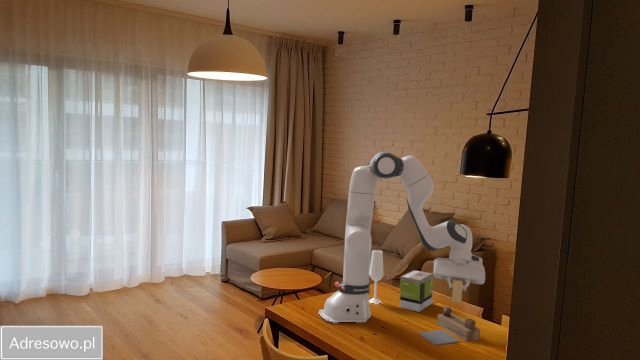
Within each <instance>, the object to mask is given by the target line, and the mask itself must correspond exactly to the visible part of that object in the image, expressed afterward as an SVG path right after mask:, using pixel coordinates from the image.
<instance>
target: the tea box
mask: <svg viewBox="0 0 640 360" xmlns="http://www.w3.org/2000/svg"><path fill="white" fill-rule="evenodd" d="M433 281H434V276H433V272H427V271H426V272H425V271H419V270H415V269H414V270H411V271H410V272H406V274H403V275H400V284H399V285H400V289H399V291H400V292H399V293H400V294H399V307H400V308H402V309H405V310H409V311H413V312H418V313H419V312H421V311H423V310H425V309H426V308H428V307H429V306H431V305H432V304H433V289H434V288H433V287H434V286H433V285H434V282H433Z"/></svg>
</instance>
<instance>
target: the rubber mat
mask: <svg viewBox="0 0 640 360" xmlns="http://www.w3.org/2000/svg"><path fill="white" fill-rule="evenodd" d="M418 335H419V336H421V337H422V338H424V339H425V340H427V341H428V342H430V343H431V344H433V345H434V346H441V345H442V346H443V345H449V344H456V343H460V342H461V340H459V339H457V338H456V337H454V336H453V335H452V334H450V333H448V332H446V331H445V330H443V329H439V330H431V331H423V332H418Z"/></svg>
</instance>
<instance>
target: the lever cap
mask: <svg viewBox="0 0 640 360" xmlns="http://www.w3.org/2000/svg"><path fill="white" fill-rule="evenodd" d="M463 283H464V282H463V280H462V279H454V280H452V284H453V289H452V291H451V293H452V294H451V295H452V296H451V302H453V303H458V304H462V300H463V299H462V296H463V291H462V286H463V285H464V284H463Z"/></svg>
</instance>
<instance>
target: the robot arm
mask: <svg viewBox="0 0 640 360" xmlns="http://www.w3.org/2000/svg"><path fill="white" fill-rule="evenodd" d="M395 177H397V178H399V180H400V181H401V183H402V184H403V185H404V187H405V190H406V192H407V197H408V198H406V199H407V200H406V203H407V206H408V210H409V213H410V215H411V217H412V220H413V223H414V224H415V227H416V230H417V232H418V235H419V239H420V242H421V244H422V247H423V248H424V249H426V250H428V251H430V252H436V251H439V250H440V249H442V248H443V249H444V248H446V247H448V246H449V247H450V250H449V254H448V255H449V257H448V258H447V257H436V258H435V259H434V260H433V271H432V273H433V278H434V279H440V280H445V281H446V282H447V284H448V289H449V290H453V282H451V281H453V280H454V279H462V280H463V283H465V284H463V286H462V292H467V288H468V287H469V285H470V284H477V285H483V284H484V283H485V282H486V271H485V270H486V269H485V266H484V264H483V258H482V257H480V256H478V255H475V254H472V248H473V233H472V230H471V228H470V227H469V226H468V225H465V224H460V223H459V222H457V221H455V220H452V219H450V220H447V221H444V222H442V223H439V224H437V225H434V226H431V225H430V223H429V222H428V220H427V216H426V215H425V212H424V209H423V208H424V204H425V203H426V202H427V201H428V199H429V198H430V197H431V196H432V194H433V192H434V188H435V186H434V181H433V179H432V177H431V175H430V174H429V173H428V171H427V170H426V168H425V167H424V165H423V164H422V163H421V161H420V160H419V159H418V158H417V157H416V156H415V155H413V154H412V155H409V154H408V155H405V156H403V157H401V158H400V157H399V156H397V155H395V154H393V153H392V152H389V151H380V152H378V153H376V154H375V155H373V157H372V158H371V159H370V161H369V162H368V163H367V165H360V166H357V167H354V168H353V170H352V173H351V177H350V181H349V188H348V198H347V210H346V217H345V218H346V219H345V228H344V229H345V230H344V251H343V253H344V254H343V271H342V273H343V274H342V275H343V276H342V281H341V282H339V281H335V282H334V286H335V287H336V288H338V290H336V292H334V293H333V294H332V295H331V296H329V297H328V298H327V299H326V300H325V302H324V306H323V309H319V310H318V315H319V314H320V316H321V317H322V318H323V319H325V320H326V321H325V320H324V321H325V322H327V321H329V322H333V323H332V324H339V323H338V322H356V323H366V322H367V321H368V320H369V319H370V318H371V317H372V313H371V309H370V303H369V300H370V297H369V296H370V290H371V288H370V287H371V284H370V276H369V271H370V263H371V256H372V243H373V242H372V239H373V238H372V235H371V234H372V233H371V231H372V224H373V216H374V207H375V198H376V197H375V196H376V186H377V183H378V180H379V179H386V180H387V179H392V178H395ZM320 316H319V317H320ZM321 317H320V318H321ZM322 318H321V319H322ZM323 319H322V320H323ZM329 322H328V323H329Z"/></svg>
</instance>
